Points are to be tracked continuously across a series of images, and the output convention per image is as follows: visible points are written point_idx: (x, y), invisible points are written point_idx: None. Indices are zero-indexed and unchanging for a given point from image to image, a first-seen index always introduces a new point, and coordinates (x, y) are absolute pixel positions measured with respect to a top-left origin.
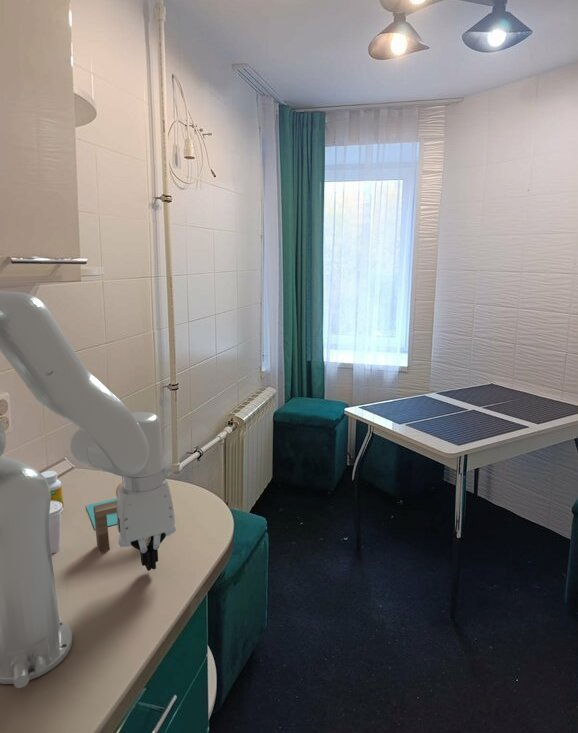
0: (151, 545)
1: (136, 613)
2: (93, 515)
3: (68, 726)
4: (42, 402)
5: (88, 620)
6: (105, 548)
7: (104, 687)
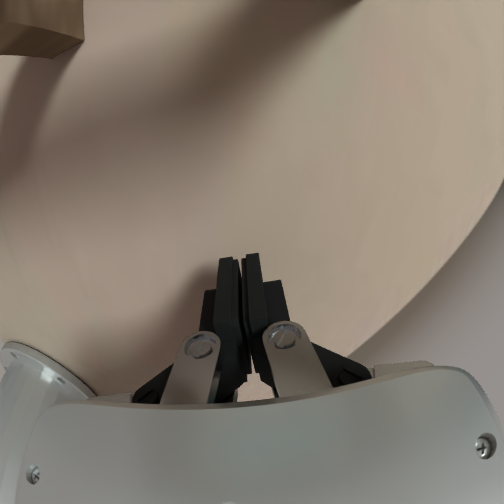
0: (265, 380)
1: None
2: None
3: None
4: None
5: (101, 370)
6: (64, 46)
7: None
